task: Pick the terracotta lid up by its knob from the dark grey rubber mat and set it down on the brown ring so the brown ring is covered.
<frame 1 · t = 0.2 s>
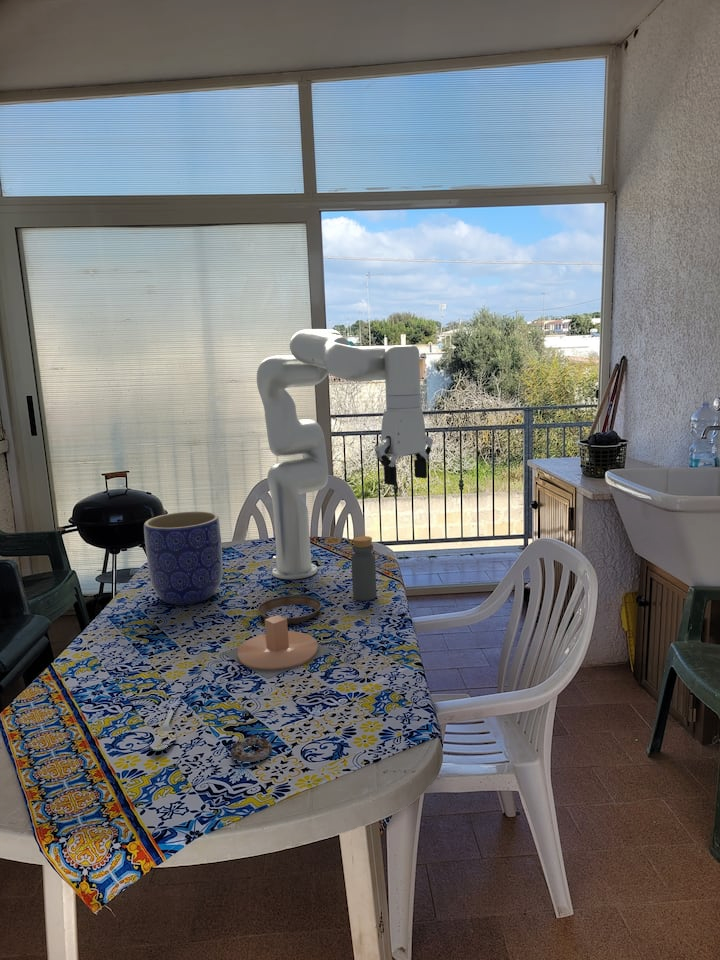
hand: (406, 480, 145), 31 cm above the table, fingers open, 9 cm apart
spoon: (170, 723, 109), on the table
donut: (249, 759, 99), on the table
brown ring: (290, 617, 152), on the table
planter: (189, 598, 168), on the table
bottle: (364, 597, 162), on the table
lid: (278, 651, 132), point 1 cm above the table, touching mat
mat: (278, 654, 132), on the table
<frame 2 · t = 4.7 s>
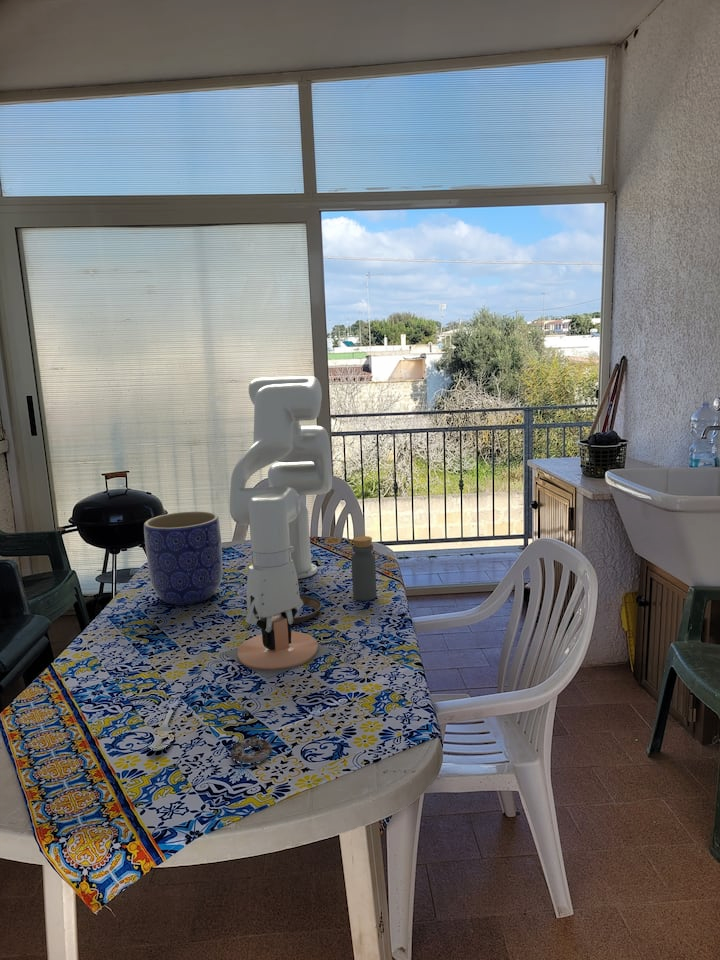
hand: (277, 644, 132), 2 cm above the table, fingers closed on lid, 3 cm apart
lid: (278, 651, 132), point 1 cm above the table, touching gripper, mat
everything else where it was.
when the fingers open (6 cm above the table, at t = 9.9 s): lid drops 2 cm, resting on brown ring.
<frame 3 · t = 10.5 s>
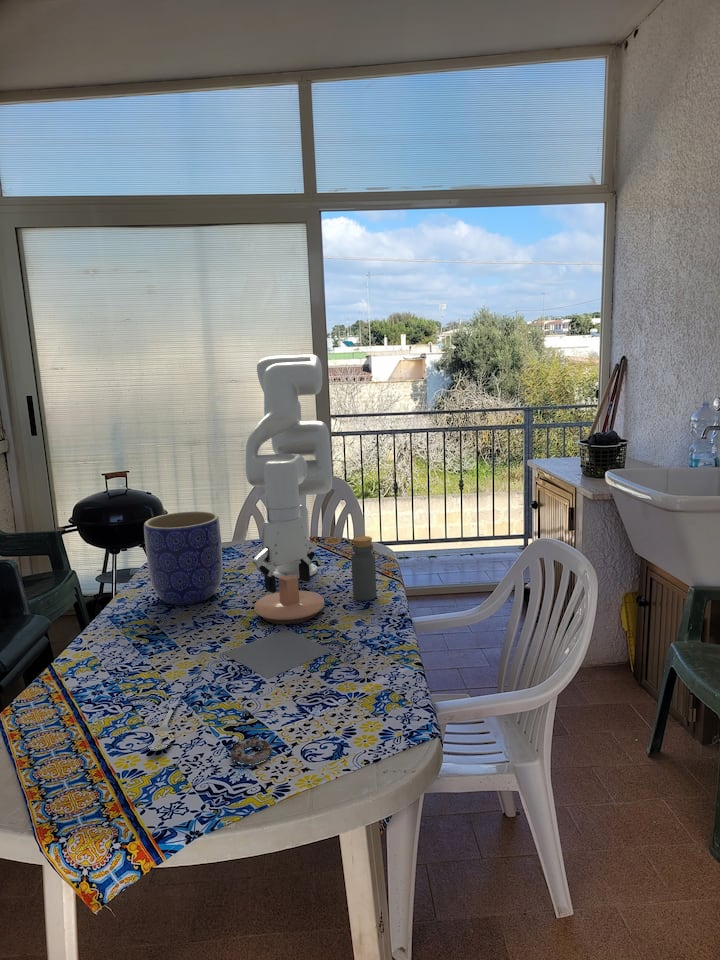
hand: (288, 586, 151), 7 cm above the table, fingers open, 9 cm apart
brown ring: (290, 618, 152), on the table, touching lid
lid: (289, 606, 152), point 2 cm above the table, touching brown ring
everything else where it was.
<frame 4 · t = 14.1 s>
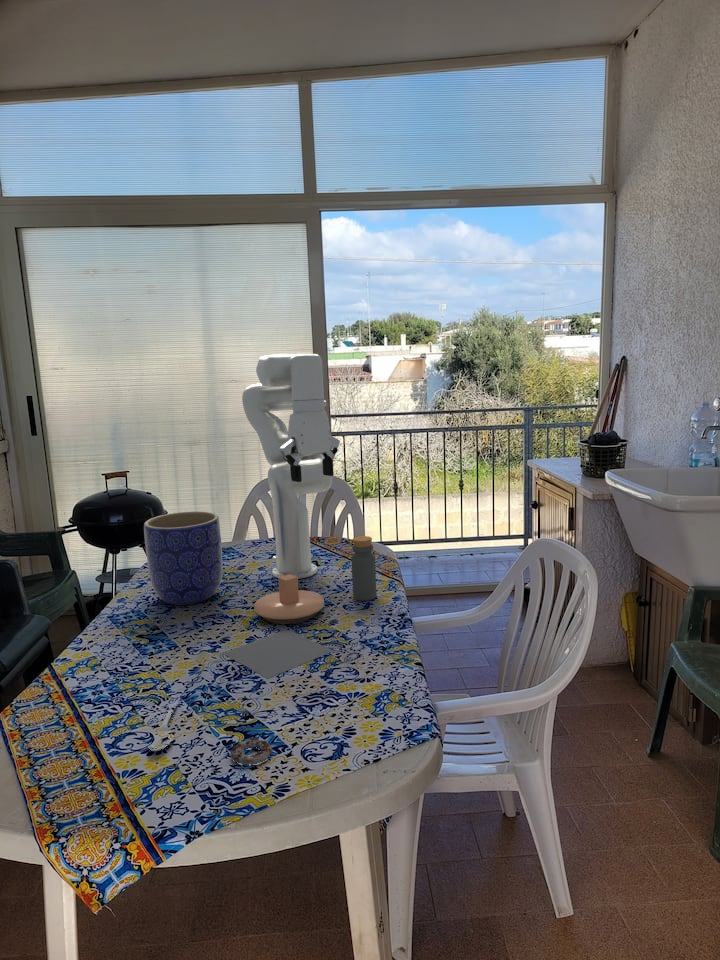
hand: (312, 478, 158), 30 cm above the table, fingers open, 9 cm apart
nothing on the table moved.
at the end: lid inside the target area on the brown ring (0.1 cm from its centre), point 2.9 cm above the brown ring's base; lid tilted 0°; the gripper is holding nothing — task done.
